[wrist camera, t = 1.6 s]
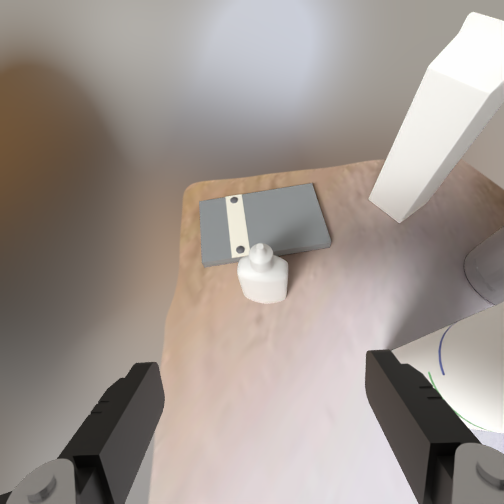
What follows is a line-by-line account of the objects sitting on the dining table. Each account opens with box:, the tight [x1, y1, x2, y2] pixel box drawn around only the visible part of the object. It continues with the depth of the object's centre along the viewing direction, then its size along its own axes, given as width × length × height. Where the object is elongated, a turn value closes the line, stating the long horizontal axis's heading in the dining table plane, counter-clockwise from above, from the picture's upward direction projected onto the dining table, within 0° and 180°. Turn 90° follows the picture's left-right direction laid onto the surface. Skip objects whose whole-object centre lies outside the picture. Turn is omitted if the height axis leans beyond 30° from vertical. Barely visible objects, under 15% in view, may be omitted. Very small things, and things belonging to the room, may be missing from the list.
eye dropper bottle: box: [237, 243, 288, 303], centre depth 30 cm, size 4×6×12 cm
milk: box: [368, 12, 504, 223], centre depth 30 cm, size 6×6×22 cm
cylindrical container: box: [391, 302, 504, 433], centre depth 18 cm, size 7×7×25 cm
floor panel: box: [199, 183, 331, 267], centre depth 39 cm, size 18×11×2 cm, turn 98°
